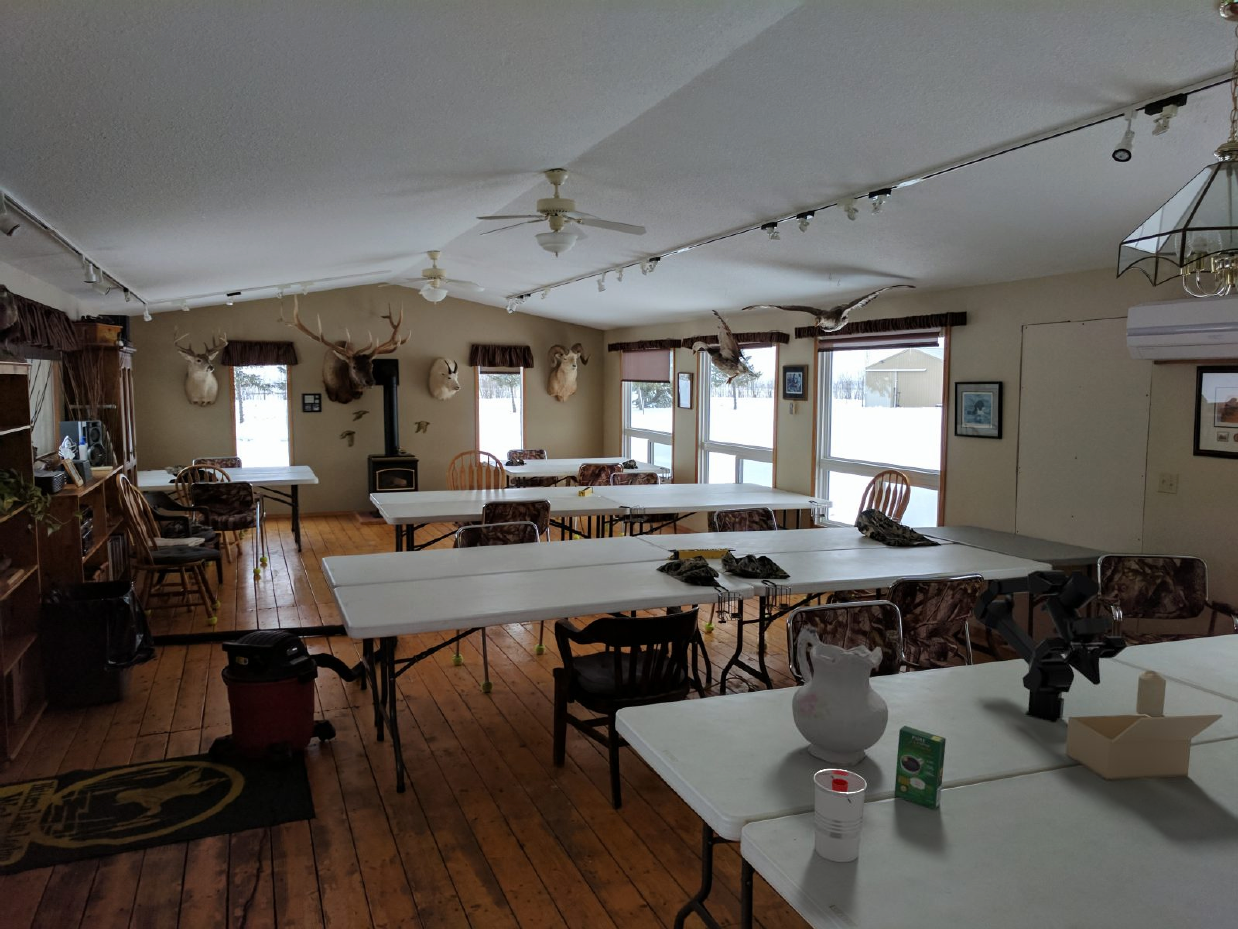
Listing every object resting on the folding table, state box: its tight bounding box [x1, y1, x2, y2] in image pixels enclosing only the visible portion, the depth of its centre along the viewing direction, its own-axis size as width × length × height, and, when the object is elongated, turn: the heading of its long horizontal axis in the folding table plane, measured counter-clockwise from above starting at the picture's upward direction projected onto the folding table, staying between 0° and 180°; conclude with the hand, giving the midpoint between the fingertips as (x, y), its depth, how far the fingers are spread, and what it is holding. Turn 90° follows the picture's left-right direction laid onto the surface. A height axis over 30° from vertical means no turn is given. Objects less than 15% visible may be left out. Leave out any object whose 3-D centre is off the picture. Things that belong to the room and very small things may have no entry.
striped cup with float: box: [812, 768, 868, 863], centre depth 138 cm, size 10×8×12 cm
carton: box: [1065, 713, 1192, 781], centre depth 173 cm, size 12×18×8 cm, turn 98°
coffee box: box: [893, 725, 947, 811], centre depth 156 cm, size 8×3×13 cm, turn 49°
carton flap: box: [1112, 714, 1223, 743], centre depth 163 cm, size 10×17×1 cm
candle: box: [1135, 670, 1167, 717], centre depth 202 cm, size 6×6×10 cm
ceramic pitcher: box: [791, 625, 889, 768], centre depth 176 cm, size 22×20×25 cm
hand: (1097, 684), depth 182 cm, fingers closed
